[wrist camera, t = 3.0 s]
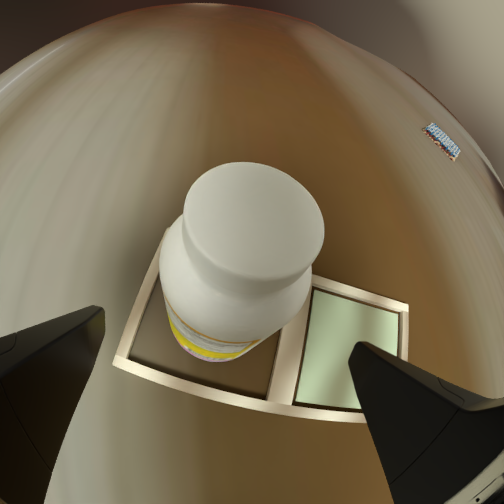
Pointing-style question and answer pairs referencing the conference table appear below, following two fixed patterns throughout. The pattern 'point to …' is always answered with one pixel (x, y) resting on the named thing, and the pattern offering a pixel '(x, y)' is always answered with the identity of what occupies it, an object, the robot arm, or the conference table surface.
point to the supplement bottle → (238, 259)
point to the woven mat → (442, 141)
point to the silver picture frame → (297, 350)
